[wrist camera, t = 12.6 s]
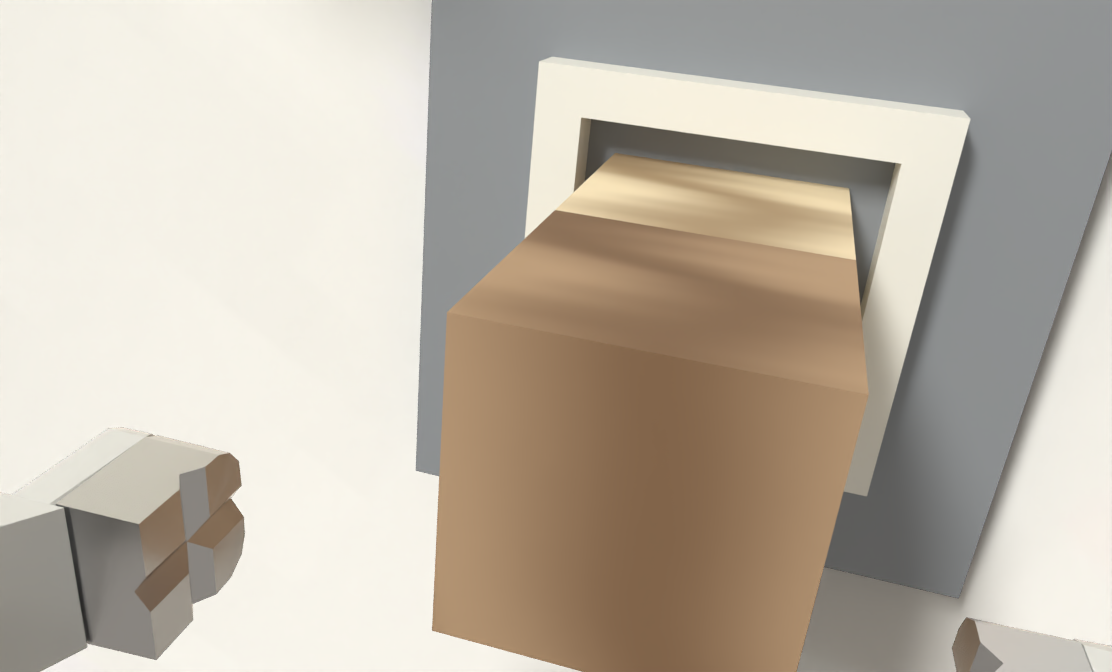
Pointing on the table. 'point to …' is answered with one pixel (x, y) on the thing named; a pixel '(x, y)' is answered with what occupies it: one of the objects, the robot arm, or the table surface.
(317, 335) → the table surface
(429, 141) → the slate plate
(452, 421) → the block stack
